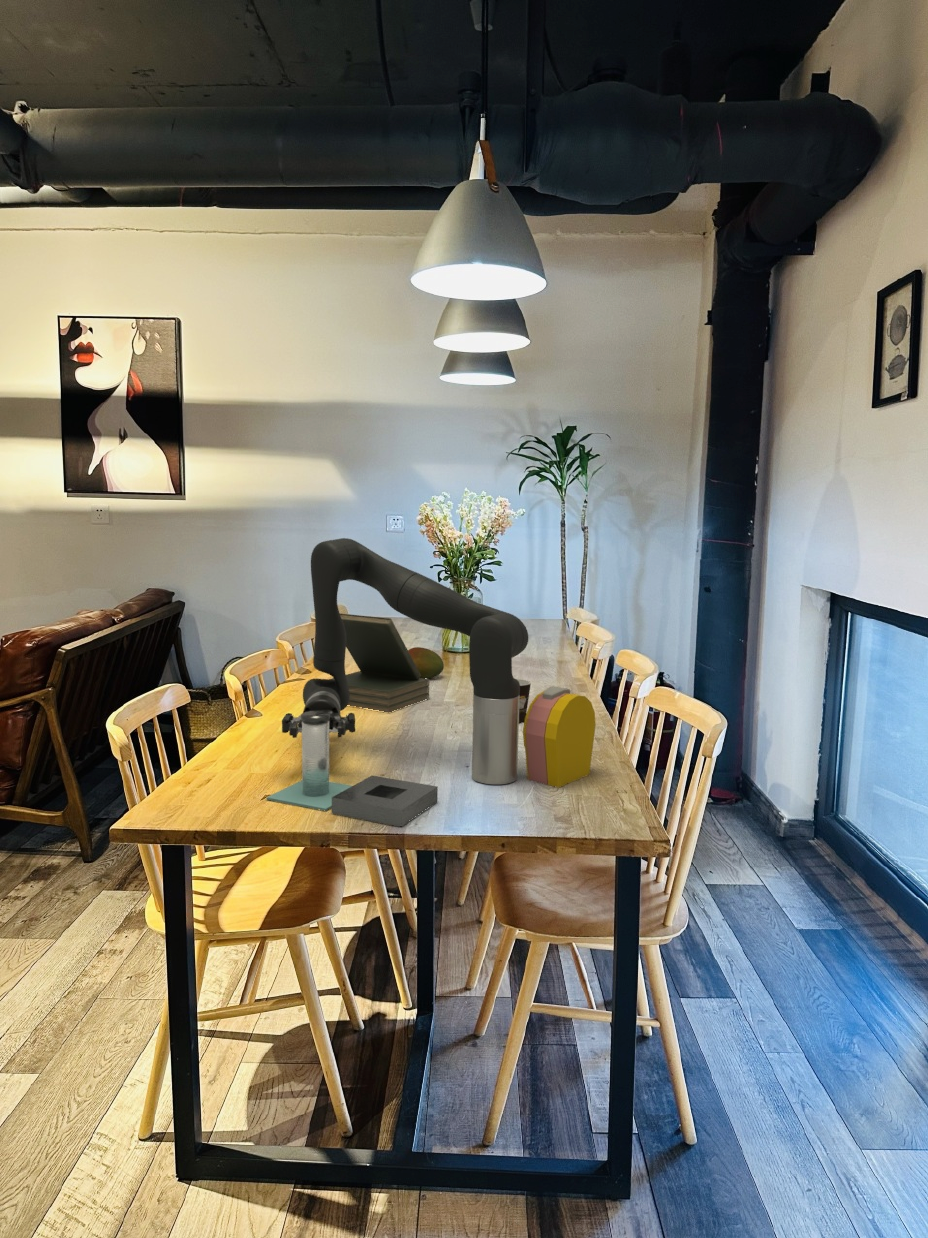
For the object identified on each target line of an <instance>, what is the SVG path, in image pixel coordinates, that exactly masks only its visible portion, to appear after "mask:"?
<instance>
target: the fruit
mask: <svg viewBox="0 0 928 1238" xmlns="http://www.w3.org/2000/svg"><path fill="white" fill-rule="evenodd" d="M407 650H408V652H409V654H410V656H411V657H412V659H413V661H414V663H415V665H416V667H417V669H418V671H419V673H420V675H421V676H420V678H423V679H425V678H429V679H432V678H436V677H437V676H440V674H441V673H442V672H443V671H444V668H445V667H444V666H445V664H444V661H443V659H442V657H441V656H440V655H439V654H438V653H437V652H435V651H433V650H431V649H429V648H425V647H421V646H415V647H412V648H409V649H407Z"/></svg>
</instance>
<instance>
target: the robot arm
mask: <svg viewBox="0 0 928 1238" xmlns="http://www.w3.org/2000/svg"><path fill="white" fill-rule="evenodd" d="M310 575H311V586H312V588H311V589H312V597H313V599H312V601H313V606H314V607H313V609H314V620H315V621H314V622H315V623H314V626H315V628H314V629H315V631H314V632H315V633H314V643H313V644H314V645H313V646H314V647H313V659H312V660H313V661H312V663H313V667H314V669H315V670H317V671H319V672H321V673H323V674H324V673H325V674H327V675H330V676H331V677H332V678H334V679H335V680H330V679H331V678H329V679H328V678H317V677H316V678H311V679H309V680H307V681H306V682H305V684H304V686H303V688H302V689H303V690H302V701H303V704H304V709H303V711H302V713H304V712H309V711H324V712H328V713H330V721H329V734H330V733H333V734H336V733H337V738H342V737H343V736H345V735H346V733H347V731H348V733H351V734H353V733H355V732H356V717H355V715H356V714H355V713H354V712H348V714H346V715H345V716H342V715H341V711H343V710H345V709H346V708H347V707H348V706H347V705H348V703H349V700H350V693H349V688H348V684H347V679H346V675H347V674H346V666H345V661H346V651H347V650H346V649H347V647H346V631H345V627H344V624H343V621H342V618H341V616H340V614H341V613H340V611H339V605H338V591H339V585H340V582H345V581H349V580H351V581H356V582H358V583H361V584H364V585H366V586H369V587H371V588H373V589H375V590H376V591H377V592H378V593H379V595H381V596H382V598H383V599H384V601H385V602H386V603H387V604H388V605H389V606H390V608H392V609H393V610H394V611H396V612H397V613H398V614H399V613H400V614H402V615H404V616H405V617H407V618H409V619H411V620H413V621H415V622H418V623H421V624H424V625H428V626H432V627H435V628H438V629H439V628H440V629H444V630H449V631H452V632H453V631H455V632H458V633H461V634H463V635H465V636H468V637H469V644H468V645H469V646H468V651H469V652H468V653H469V654H468V655H469V658H468V659H469V661H468V662H469V677H470V681H471V683H472V687H473V690H472V691H473V696H472V698H473V699H472V701H473V703H472V742H471V743H472V746H471V748H472V750H471V752H472V753H471V779H473V781H475V782H478V783H482V784H486V785H506V784H511V783H514V782H516V781H517V780H518V769H519V768H518V767H519V766H518V764H519V763H518V762H519V734H520V733H519V732H520V731H519V726H520V723H519V696H520V684H519V681H518V680H517V679H518V678H515V677H514V676H513V662H512V660H513V658H514V657H516V656H518V655H519V654H521V653H522V652H524V650H525V649H526V648H527V645H528V644H529V632H528V629H527V627H526V625H525V624H524V622H523V621H522V620H521V619H520V618H519V617H517V616H516V615H514V614H512V613H509V612H506V611H504V610H499V609H497V608H494V607H491V606H488V605H487V604H486V605H485V604H483V603H480V602H477V601H475V600H472V599H471V598H469V597H467V596H465V595H464V594H461V593H459V592H457V591H456V590H453V589H452V588H449V587H448V586H446V585H443V584H441V583H440V582H438V581H436V580H434V579H432V578H430V577H427V576H425V575H423V574H421V573H419V572H417V571H414V570H412V569H409V568H407V567H404V566H403V565H400V564H399V563H397V562H396V563H395V562H394V561H391V560H389V559H387V558H385V557H382V556H381V555H380V554H377V552H375V551H373V550H371V549H370V548H368V547H366V546H365V545H363V544H361V542H358V541H357V540H354V539H351V538H345V537H343V538H337V539H330V540H324V541H322V542H319V543H317V544H316V545H315V546H314V548H313V550H312V552H311V555H310ZM281 733H284V734H287V733H288V734H289V736H292V738H293V739H295V738H297V737H298V734H299V733H301V734H302V721H301V714H300V715H298V717H296V716H294V715H293V713H289V712H288V713H285V715H284V716H283V718H282V719H281Z"/></svg>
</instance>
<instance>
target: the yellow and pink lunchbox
mask: <svg viewBox="0 0 928 1238" xmlns="http://www.w3.org/2000/svg"><path fill="white" fill-rule="evenodd" d="M595 732H596V713H595V709H594V707H593V704H592V701H590V699H589V698H588V697H586V695H581V694H580V695H579V694H576V693H575V694H574V693H571V689H570V688H568V687H567V688H566V687H561V686H554V685H553V686H549V687H547V688H546V689H544V690H543V691H542V692H539V693H538V694H536V696H535V697H534V698H533V699H532V701H531V703H530V704H529V706H528V708H527V713H526V716H525V721H524V722H523V730H522V737H523V738H522V739H523V746H524V749H525V750H524V751H525V764H526V775H527V777H526V778H527V780H528V779H529V781H531V780H533V781H532V782H535V781H536V783H539V782H540V783H539V784H543V783H544V785H547V784H548V786H550V785H552V786H551V787H554V786H556V787H555V788H558V787H559V788H561V786H562V787H564V786H566V785H568V784H567V783H569V784H571V783H573V782H575V781H578V780H580V779H582V778H584V777H587V776H589V775H590V772H591V763H592V754H593V748H594V742H595V741H594V740H595ZM588 774H589V775H588ZM586 775H587V776H586ZM583 776H584V777H583ZM581 777H582V778H581ZM579 778H580V779H579ZM577 779H578V780H577ZM574 780H575V781H574ZM572 781H573V782H572ZM570 782H571V783H570ZM565 784H566V785H565ZM563 785H564V786H563Z"/></svg>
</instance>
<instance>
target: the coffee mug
mask: <svg viewBox="0 0 928 1238" xmlns="http://www.w3.org/2000/svg"><path fill="white" fill-rule="evenodd" d="M516 679H517V680H518V681H519V684H520V696H519V724H522V723H521V722H523V723H524V721H525V716H526V714H527V711H528V707H529V706H528V703H529V698H530V691H531V685H532V683H531V682H532V681H529V680H527V679H521V678H516Z"/></svg>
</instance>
